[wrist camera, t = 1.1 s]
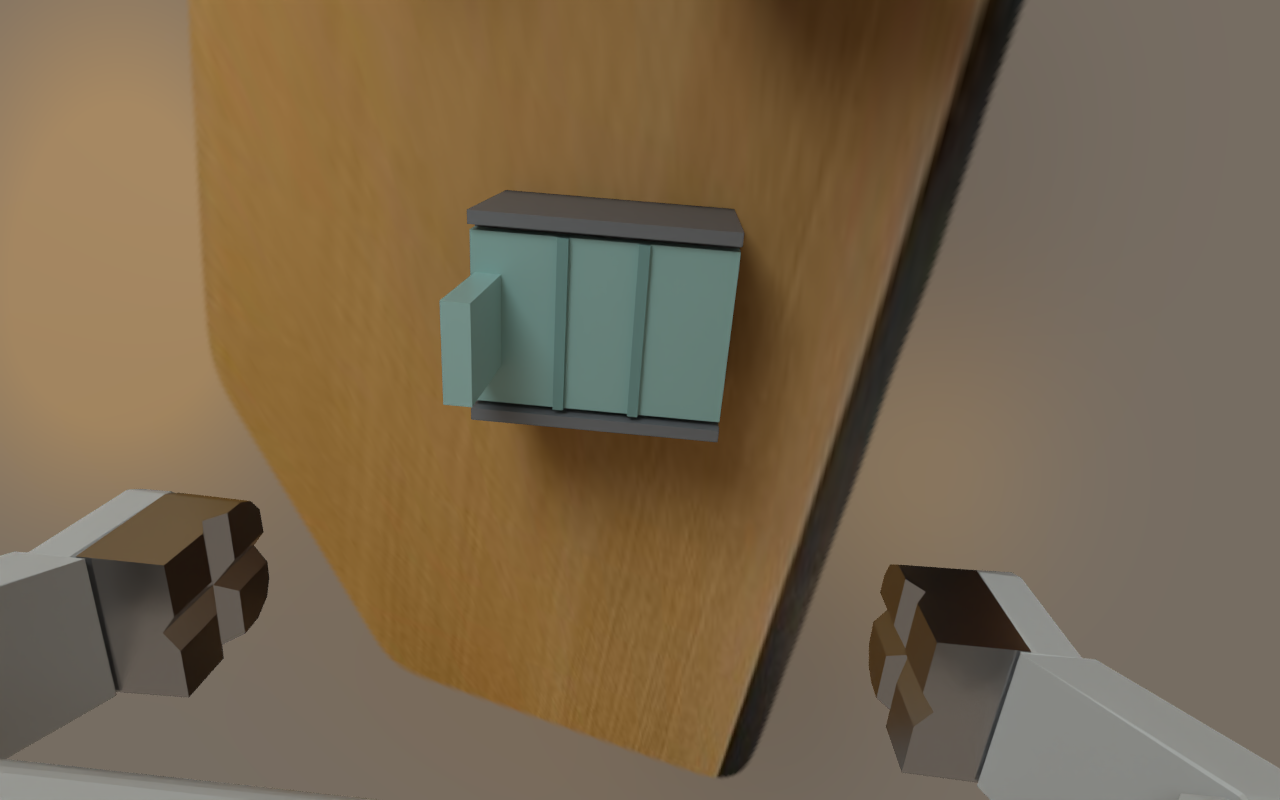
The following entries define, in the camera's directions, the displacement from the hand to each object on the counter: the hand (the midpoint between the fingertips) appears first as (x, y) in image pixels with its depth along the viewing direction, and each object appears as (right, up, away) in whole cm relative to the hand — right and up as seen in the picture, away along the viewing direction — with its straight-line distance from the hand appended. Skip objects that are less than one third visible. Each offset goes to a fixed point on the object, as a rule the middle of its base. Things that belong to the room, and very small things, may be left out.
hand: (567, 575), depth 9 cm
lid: (-1, +6, +25) cm, 25 cm away
